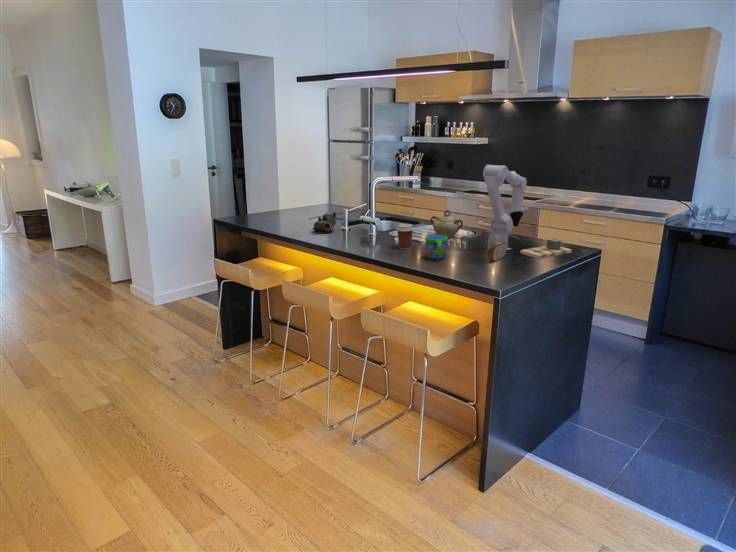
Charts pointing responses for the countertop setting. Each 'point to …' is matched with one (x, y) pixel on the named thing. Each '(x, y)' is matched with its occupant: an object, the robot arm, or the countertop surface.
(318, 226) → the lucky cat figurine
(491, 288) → the countertop surface
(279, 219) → the countertop surface
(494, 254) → the tin
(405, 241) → the coffee cup
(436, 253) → the snack cup
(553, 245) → the fader knob
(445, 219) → the sugar bowl
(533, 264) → the countertop surface
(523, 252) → the fader board
